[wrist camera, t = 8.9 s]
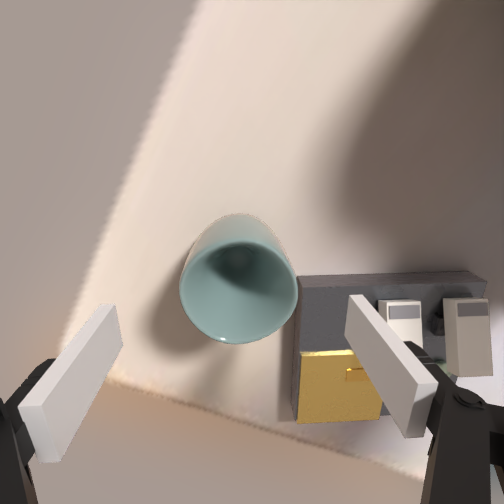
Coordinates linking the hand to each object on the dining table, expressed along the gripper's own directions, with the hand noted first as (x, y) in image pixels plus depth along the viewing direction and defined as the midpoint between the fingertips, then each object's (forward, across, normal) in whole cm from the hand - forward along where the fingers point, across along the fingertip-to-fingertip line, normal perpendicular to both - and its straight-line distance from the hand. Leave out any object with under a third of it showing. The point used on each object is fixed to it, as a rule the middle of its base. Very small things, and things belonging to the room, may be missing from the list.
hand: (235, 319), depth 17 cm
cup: (+13, 0, 0) cm, 13 cm away
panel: (+12, +15, -12) cm, 23 cm away
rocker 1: (+8, +15, -8) cm, 19 cm away
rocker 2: (+8, +22, -8) cm, 24 cm away
